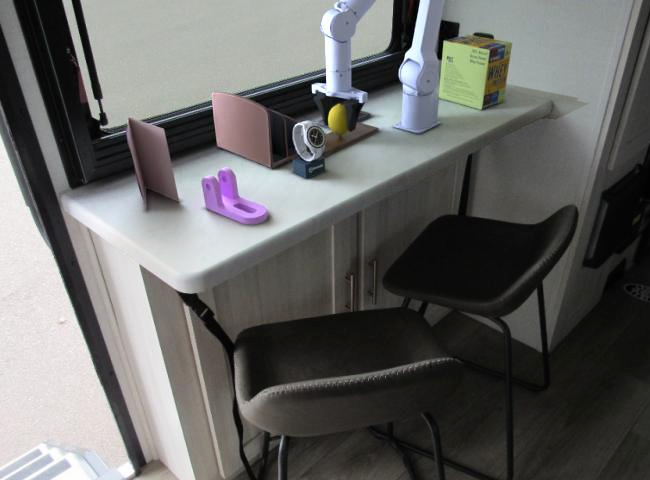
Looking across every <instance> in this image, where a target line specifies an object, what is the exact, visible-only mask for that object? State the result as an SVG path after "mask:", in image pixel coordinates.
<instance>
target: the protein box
mask: <svg viewBox="0 0 650 480" xmlns="http://www.w3.org/2000/svg"><path fill="white" fill-rule="evenodd" d="M442 45H443V46H442V57H441V66H440V68H441V69H440V76H439V89H438V96H439V99H441V100H446V101H448V102H452V103H456V104H459V105H463V106H466V107H470V108H473V109H477V110H481V111H482V110H484V109H488V108H491V107H492V106H495V105H498V104H501V103H503V102H504V101H505V94H506V88H507V81H508V75H509V67H510V61H511V54H512V48H513V42H511V41H506V40H499V39H495V38H489V37H482V36H477V35H471V34H465V35H461V36H457V37H453V38H449V39H445V40H443V44H442Z"/></svg>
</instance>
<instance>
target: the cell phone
mask: <svg viewBox="0 0 650 480" xmlns="http://www.w3.org/2000/svg"><path fill="white" fill-rule="evenodd" d="M371 116H372V113H371V112H367V111H364V110H361V111H360V114H359V117H358V120H357V122H361V121H363V120H366V119H367V118H370V117H371ZM317 125H318V126H322V127H325V128H329V125H328V126H325V125H324V121H323V118H322V119H319V120H318V121H317ZM329 129H330V128H329Z"/></svg>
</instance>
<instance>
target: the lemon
mask: <svg viewBox="0 0 650 480" xmlns="http://www.w3.org/2000/svg"><path fill="white" fill-rule="evenodd" d="M328 124H329V129H330V131H331V132H333V133H334V134H337V135H338V136H339V137H341V136H342V135H343V134H345V133H346V132H348V119H347V112H346V108H345V106H344V105H343V104H342V103H337V104H335V105H334V106H332V109H331V110H330V112H329V116H328Z"/></svg>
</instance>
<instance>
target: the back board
mask: <svg viewBox="0 0 650 480" xmlns="http://www.w3.org/2000/svg"><path fill="white" fill-rule="evenodd" d="M379 130H380V128H379V127H377V126H374V125H370V124H367V123H363V122H361V121H359V122H357V124H356V129H355V130H353V131H352V132H349V131H348V132H346V133H345V134H343V135H342V136H341V137H339V136H338V135H337V134H334V133H333V132H332V131H331V132H328V133H325V134H326V142H325V147H324V150H323V153H322V155H321V156H322V157H327V156H328V155H331V154H334V153H335V152H338V151H339V150H342V149H344V148H346V147H348V146H351V145H353V144H355V143H357V142H359V141H361V140H363V139H366V138H368V137H370V136H372V135H374V134H376V133H378V132H380V131H379ZM304 143H305V142H304ZM305 146H306V148H307V152H308V151H309V152H311V150H310V148H309V147H308V146H307V145H306V143H305Z"/></svg>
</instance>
